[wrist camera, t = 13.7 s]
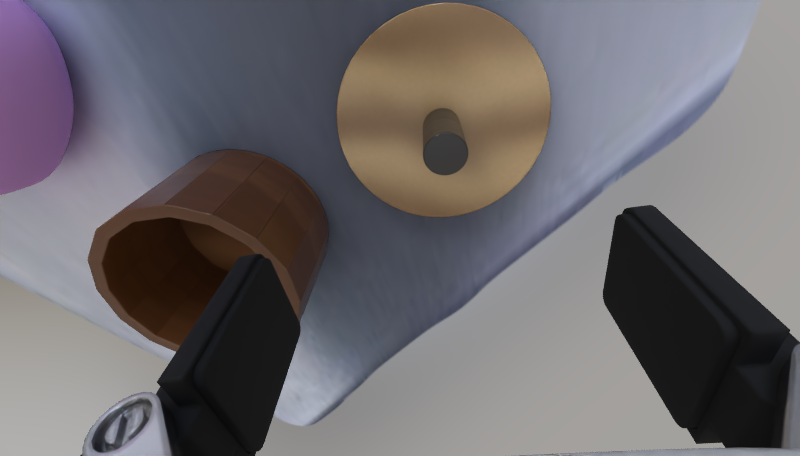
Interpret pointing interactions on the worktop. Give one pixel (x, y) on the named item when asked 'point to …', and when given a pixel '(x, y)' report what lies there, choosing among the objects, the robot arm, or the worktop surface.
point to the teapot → (31, 98)
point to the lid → (443, 109)
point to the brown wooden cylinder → (207, 241)
